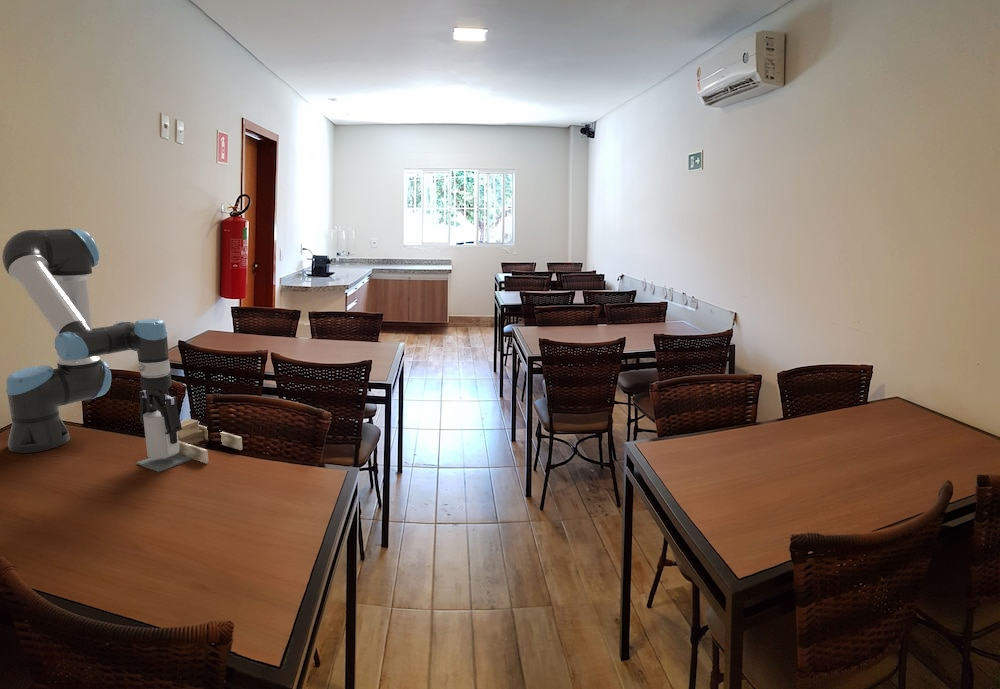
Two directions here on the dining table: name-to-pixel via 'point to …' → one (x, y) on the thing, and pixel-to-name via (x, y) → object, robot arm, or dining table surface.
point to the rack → (202, 453)
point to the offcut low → (192, 438)
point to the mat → (163, 462)
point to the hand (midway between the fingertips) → (163, 450)
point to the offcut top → (188, 428)
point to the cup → (156, 435)
